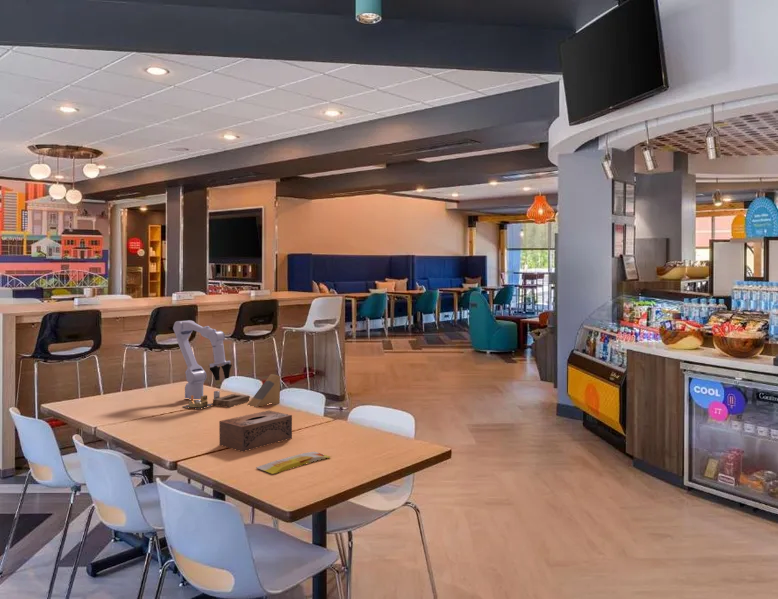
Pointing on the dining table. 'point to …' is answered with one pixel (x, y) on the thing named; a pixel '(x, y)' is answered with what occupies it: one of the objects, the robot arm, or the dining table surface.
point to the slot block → (231, 400)
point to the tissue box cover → (255, 430)
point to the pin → (216, 394)
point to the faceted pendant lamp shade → (199, 404)
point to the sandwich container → (267, 392)
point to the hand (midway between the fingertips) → (222, 379)
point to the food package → (291, 462)
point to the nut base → (197, 401)
